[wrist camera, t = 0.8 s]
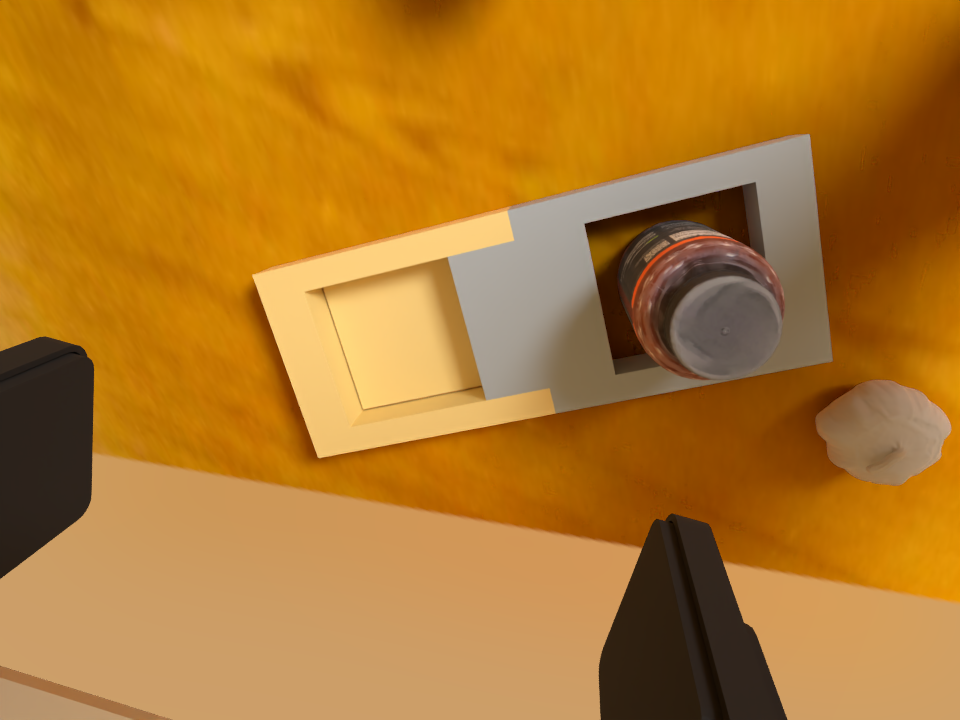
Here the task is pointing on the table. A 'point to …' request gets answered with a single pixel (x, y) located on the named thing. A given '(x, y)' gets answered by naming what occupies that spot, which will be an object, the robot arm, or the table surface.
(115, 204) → the table surface
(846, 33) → the table surface
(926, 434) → the garlic
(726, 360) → the supplement bottle
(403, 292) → the beige and grey tray
